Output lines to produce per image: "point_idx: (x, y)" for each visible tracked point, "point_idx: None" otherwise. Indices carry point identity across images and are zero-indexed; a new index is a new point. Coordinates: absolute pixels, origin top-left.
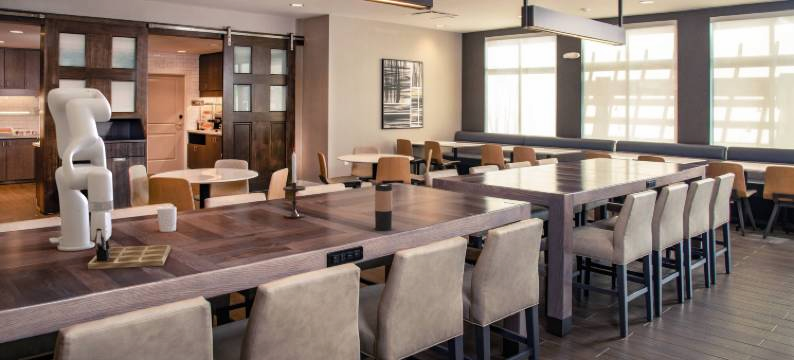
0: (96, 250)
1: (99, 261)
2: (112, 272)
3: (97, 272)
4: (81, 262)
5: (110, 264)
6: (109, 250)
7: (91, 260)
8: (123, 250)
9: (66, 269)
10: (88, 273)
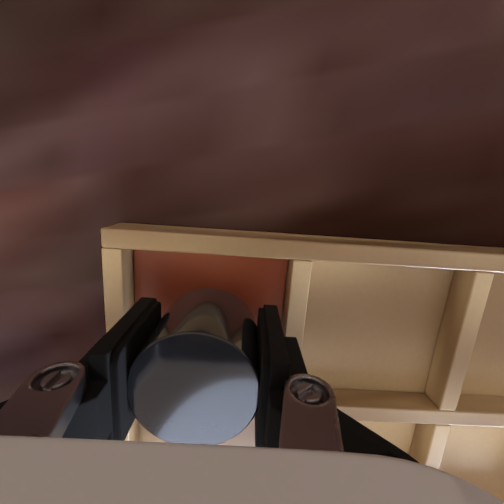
0: (89, 351)
1: (271, 284)
2: (20, 380)
3: (29, 296)
4: (357, 140)
5: None
6: (190, 438)
7: (223, 241)
8: (489, 422)
9: (152, 53)
10: (7, 243)
